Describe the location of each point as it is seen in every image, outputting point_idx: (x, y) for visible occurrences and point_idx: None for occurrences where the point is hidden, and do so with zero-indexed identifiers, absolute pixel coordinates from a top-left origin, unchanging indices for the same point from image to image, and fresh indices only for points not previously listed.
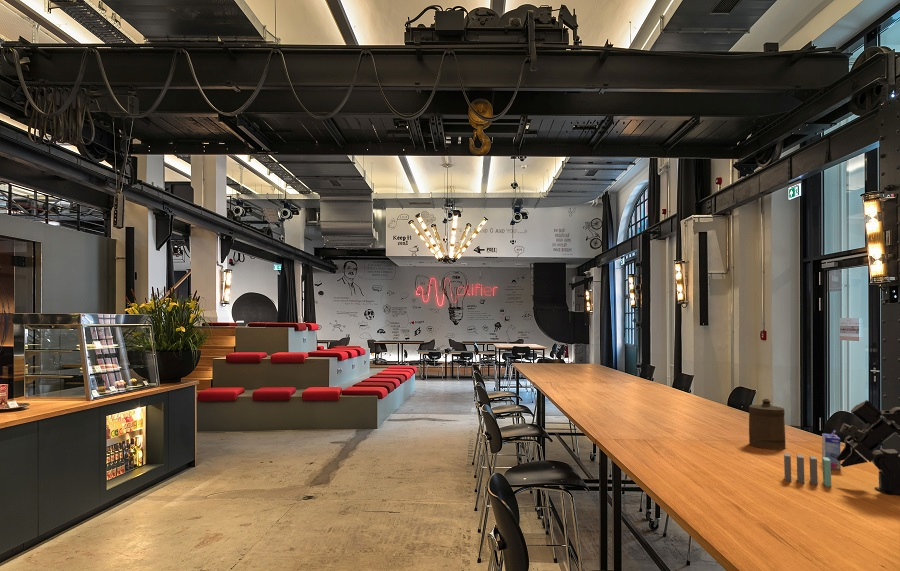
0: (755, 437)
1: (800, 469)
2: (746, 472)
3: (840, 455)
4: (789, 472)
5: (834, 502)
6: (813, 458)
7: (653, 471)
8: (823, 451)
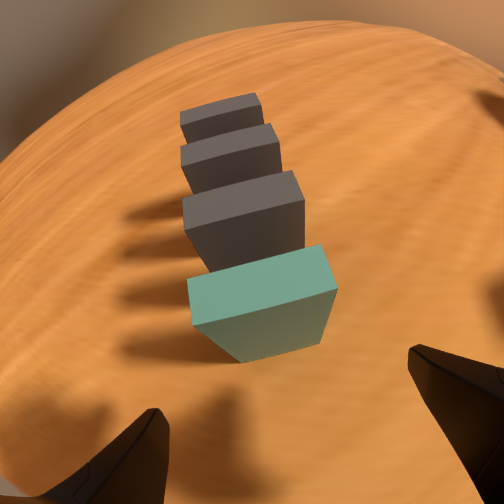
0: None
1: None
2: None
3: (438, 374)
4: None
5: (28, 364)
6: (199, 207)
7: (143, 69)
8: None
